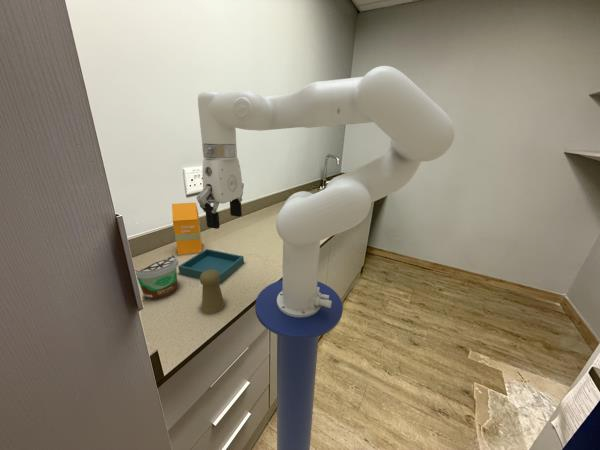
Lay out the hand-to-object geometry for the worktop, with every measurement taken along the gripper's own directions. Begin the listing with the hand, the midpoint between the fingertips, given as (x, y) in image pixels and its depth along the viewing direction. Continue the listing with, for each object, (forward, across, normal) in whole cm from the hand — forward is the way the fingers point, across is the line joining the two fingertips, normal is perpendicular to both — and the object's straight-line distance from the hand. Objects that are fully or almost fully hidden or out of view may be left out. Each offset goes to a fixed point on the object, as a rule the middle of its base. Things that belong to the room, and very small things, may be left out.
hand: (225, 221), depth 62 cm
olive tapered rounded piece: (+25, -4, +4) cm, 26 cm away
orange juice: (+25, +22, +35) cm, 48 cm away
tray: (+25, +13, +17) cm, 33 cm away
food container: (+25, -4, +21) cm, 33 cm away
